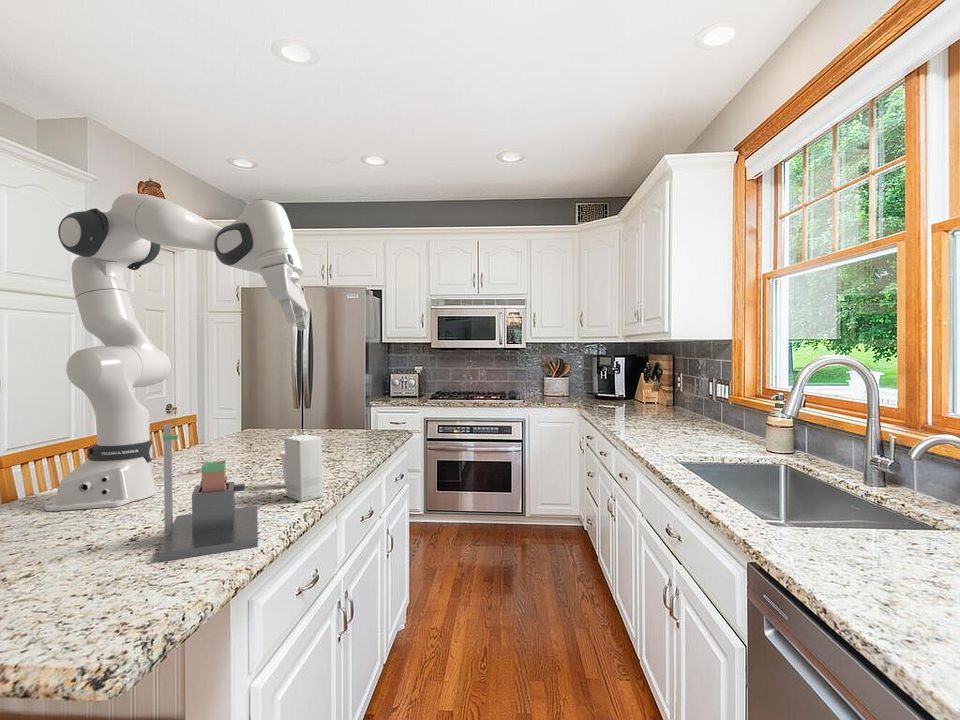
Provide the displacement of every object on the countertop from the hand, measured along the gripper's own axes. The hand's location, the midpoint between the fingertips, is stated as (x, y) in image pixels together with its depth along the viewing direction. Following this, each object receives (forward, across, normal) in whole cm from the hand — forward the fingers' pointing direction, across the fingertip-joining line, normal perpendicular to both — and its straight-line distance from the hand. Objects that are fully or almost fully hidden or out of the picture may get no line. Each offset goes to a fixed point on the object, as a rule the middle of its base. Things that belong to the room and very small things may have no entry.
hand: (297, 326), depth 109 cm
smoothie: (+37, -31, -18) cm, 51 cm away
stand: (+38, +4, -26) cm, 47 cm away
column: (+37, +4, -25) cm, 45 cm away
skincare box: (+39, -20, -13) cm, 46 cm away
